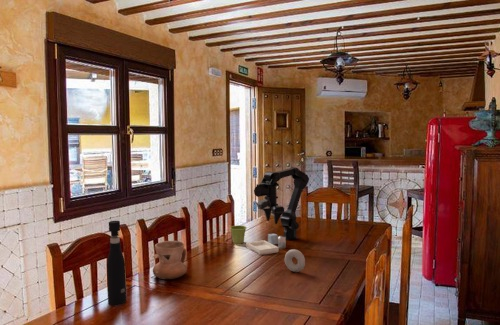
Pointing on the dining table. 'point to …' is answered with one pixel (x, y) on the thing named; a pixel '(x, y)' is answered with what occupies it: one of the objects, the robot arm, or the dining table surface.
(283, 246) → the metal cylinder
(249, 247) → the parts tray
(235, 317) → the dining table surface
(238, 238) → the plant pot
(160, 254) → the ceramic jug
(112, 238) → the black water bottle
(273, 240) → the painted block
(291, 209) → the robot arm
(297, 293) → the dining table surface
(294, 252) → the donut
